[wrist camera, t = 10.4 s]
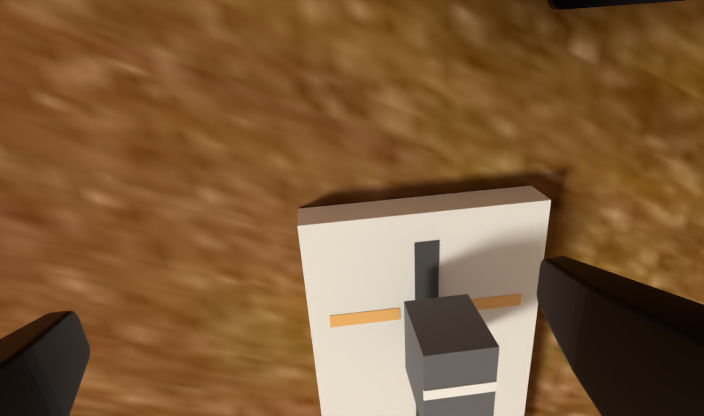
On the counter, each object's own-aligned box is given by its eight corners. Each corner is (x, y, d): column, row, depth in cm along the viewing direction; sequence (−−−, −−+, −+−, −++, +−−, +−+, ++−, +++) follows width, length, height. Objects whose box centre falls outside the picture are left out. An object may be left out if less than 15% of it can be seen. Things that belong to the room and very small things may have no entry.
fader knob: (458, 278, 21) (500, 347, 17) (456, 343, 23) (493, 422, 18) (398, 285, 21) (423, 357, 17) (400, 350, 23) (423, 431, 18)
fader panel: (531, 185, 22) (551, 200, 21) (502, 463, 31) (514, 492, 29) (297, 208, 22) (297, 226, 20) (332, 487, 30) (334, 518, 28)
